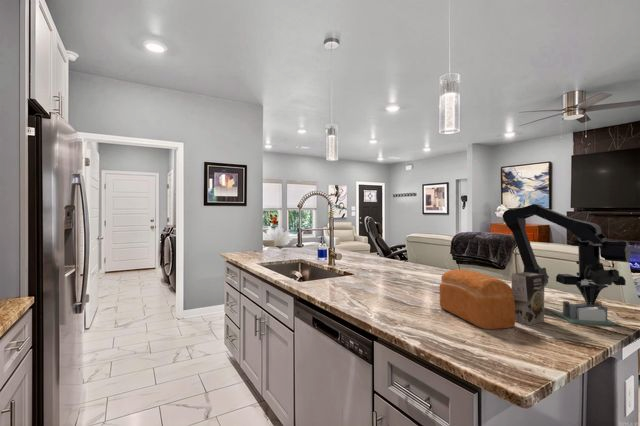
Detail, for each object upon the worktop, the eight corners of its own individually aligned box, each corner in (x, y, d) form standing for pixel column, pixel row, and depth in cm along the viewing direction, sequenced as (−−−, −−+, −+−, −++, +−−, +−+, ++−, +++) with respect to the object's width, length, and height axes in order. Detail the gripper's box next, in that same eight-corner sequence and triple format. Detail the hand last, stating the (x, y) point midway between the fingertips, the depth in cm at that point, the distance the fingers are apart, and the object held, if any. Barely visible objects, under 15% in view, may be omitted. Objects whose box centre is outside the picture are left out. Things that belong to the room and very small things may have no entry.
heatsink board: (571, 323, 110) (572, 307, 110) (555, 313, 120) (555, 299, 119) (615, 325, 108) (615, 308, 108) (594, 315, 118) (594, 300, 118)
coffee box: (529, 325, 107) (529, 276, 107) (510, 319, 113) (510, 273, 113) (545, 321, 111) (545, 274, 111) (526, 316, 117) (526, 271, 117)
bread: (467, 305, 131) (467, 265, 131) (519, 328, 105) (520, 279, 105) (436, 307, 128) (436, 266, 128) (482, 331, 102) (482, 280, 102)
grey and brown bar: (570, 309, 113) (569, 304, 113) (566, 307, 116) (565, 302, 116) (602, 306, 112) (601, 301, 112) (597, 304, 114) (596, 299, 114)
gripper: (573, 262, 107) (575, 310, 107) (638, 262, 104) (639, 311, 104) (554, 258, 118) (555, 301, 118) (612, 257, 115) (613, 302, 115)
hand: (590, 304), depth 113 cm, fingers closed, pressing on grey and brown bar
